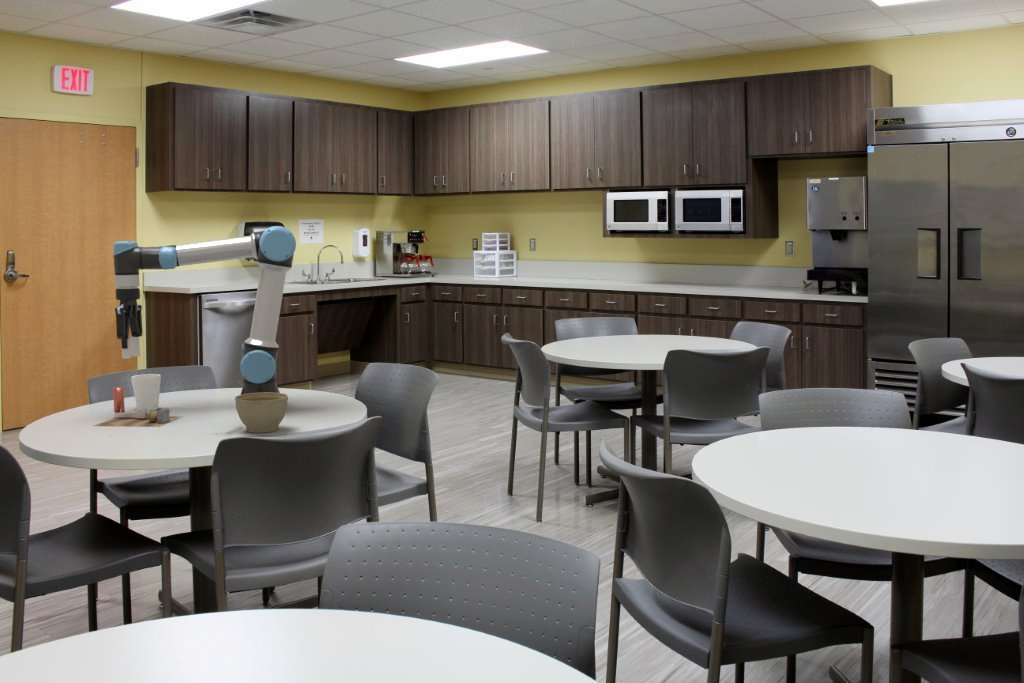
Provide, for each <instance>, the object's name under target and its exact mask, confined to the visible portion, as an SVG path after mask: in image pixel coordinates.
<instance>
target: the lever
mask: <svg viewBox="0 0 1024 683" xmlns="http://www.w3.org/2000/svg"><path fill="white" fill-rule="evenodd" d="M124 390H125V389H124V387H123V386H118V387H117V386H116V387H115V386H114V387H112V395H113V396H112V397H113V412H114V418H116V417H134V418H147V415H148V413H149V412H151V411H152V410H149V411H147V409H137V408H136V409H135V410H131V411H130V410H125V391H124ZM154 411H155V412H157V410H154Z"/></svg>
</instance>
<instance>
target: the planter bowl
mask: <svg viewBox="0 0 1024 683" xmlns="http://www.w3.org/2000/svg"><path fill="white" fill-rule="evenodd" d="M288 400H289V395H288V394H286V393H281V392H280V393H270V392H263V393H249V394H243V395H240V394H239V395H236V396H235V397H234V401H235V407H236V408H235V409H236V412H237V415H238V417H239V419H240V421H241V423H242V424H243V425H244V426H245V428H246V431H247V432H248V433H249V432H250V433H257V434H260V433H270V432H275V431H278V430H279V425H280V424H281V423H282V421H283V419H284V418H285V416H286V412H287V409H288Z"/></svg>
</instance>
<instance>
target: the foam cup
mask: <svg viewBox="0 0 1024 683" xmlns="http://www.w3.org/2000/svg"><path fill="white" fill-rule="evenodd" d="M161 377H162V376H161V374H159V373H158V374H156V373H146V374H145V373H144V374H135V375H132V376H131V378H130V379H131V385H132V389H133V390H132V391H133V394H134V399H135V400H134V401H135V404H136V409H147V411H157V409H158V408H159V402H160V400H159V399H160V390H161V382H162V378H161Z"/></svg>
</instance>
